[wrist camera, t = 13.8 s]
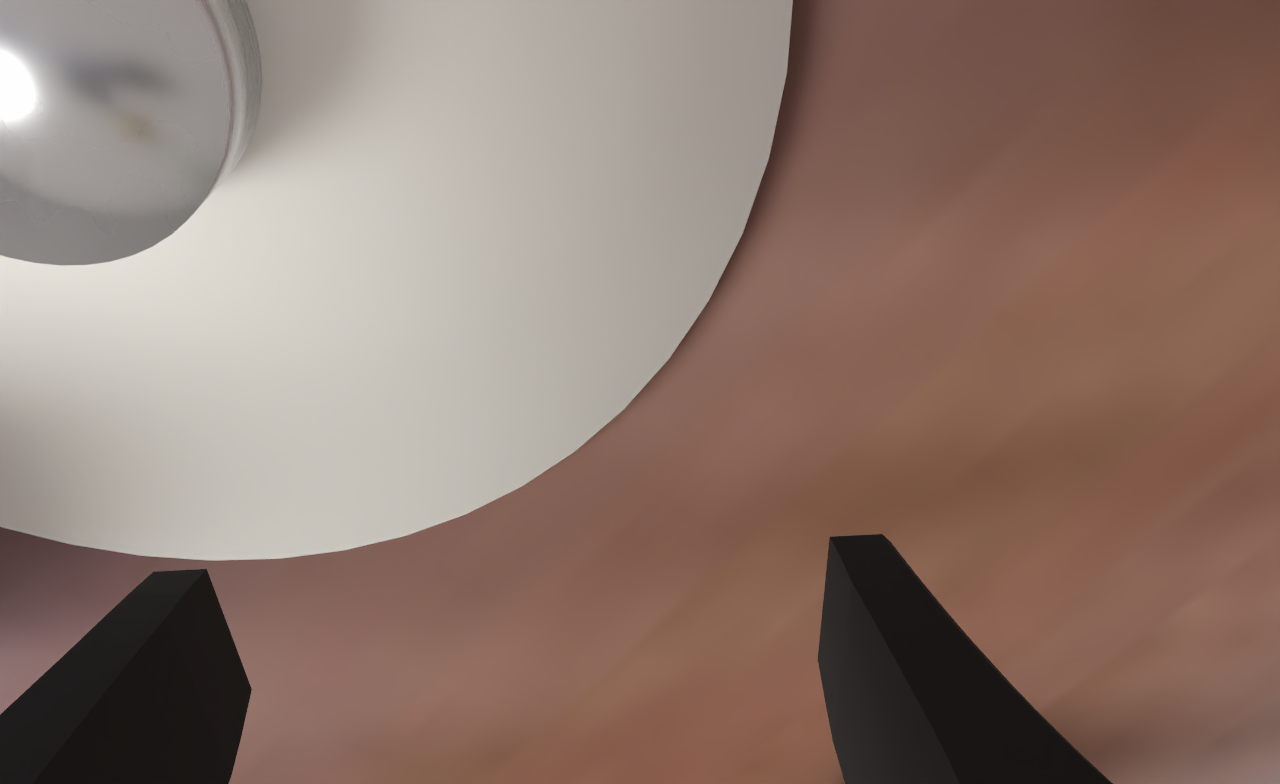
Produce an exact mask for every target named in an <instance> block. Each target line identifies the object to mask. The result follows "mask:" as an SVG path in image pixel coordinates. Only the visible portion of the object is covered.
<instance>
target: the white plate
mask: <svg viewBox="0 0 1280 784" xmlns="http://www.w3.org/2000/svg"><path fill="white" fill-rule="evenodd" d="M246 2H247V4H248V7H249V10H250V13H251V16H252V19H253V22H254V25H255V28H256V33H257V38H258V43H259V48H260V53H261V64H262V77H263V80H262V97H261V105H260V110H259V115H258V120H257V124H256V127H255V130H254V132H253V135H252V138H251V140H250V143H249V145H248V147H247V149H246V150H245V152H244V154H243V156H242V157H241V159H240V161H239V163H238V164H237V165H236V166H235V167H234V169H233V170H232V171H231V172H230V174H229V175H228V176H227V177H226V179H225V180H224V181H223V182H222V183H221V184H220V185H219V186H218V187H217V188H216V190H215V191H214V192H213V193H212V194H211V195H210V196H209V197H208V198H207V199H206V200H205V202H204V203H203V204H202V205H201V206H200V207H199V208H198V209H197V210H196V211H195V213H194V214H193V215H192V216H191V217H190V218H189V219H188V220H187V221H186V222H185V223H184V224H183V225H182V226H180V227H179V228H178V229H177V230H176V231H175V232H174V233H173V234H172V235H170V236H168V237H167V238H165V239H164V240H162V241H161V242H159V243H157V244H156V245H154V246H153V247H151V248H148V249H146V250H144V251H141V252H139V253H137V254H135V255H132V256H129V257H125V258H122V259H118V260H114V261H111V262H105V263H97V264H90V265H51V264H41V263H33V262H28V261H23V260H18V259H13V258H8V257H5V256H2V255H0V527H3V528H7V529H11V530H15V531H19V532H23V533H27V534H31V535H35V536H39V537H43V538H47V539H51V540H55V541H59V542H63V543H67V544H71V545H77V546H84V547H90V548H96V549H102V550H109V551H115V552H121V553H128V554H134V555H140V556H152V557H167V558H182V559H196V560H211V561H212V560H250V559H280V558H288V557H296V556H304V555H312V554H320V553H328V552H336V551H343V550H348V549H352V548H356V547H360V546H365V545H369V544H373V543H377V542H382V541H386V540H390V539H394V538H398V537H403V536H406V535H409V534H412V533H415V532H418V531H420V530H423V529H426V528H429V527H432V526H434V525H437V524H440V523H443V522H446V521H448V520H451V519H454V518H457V517H460V516H462V515H465V514H467V513H469V512H471V511H473V510H475V509H477V508H479V507H481V506H483V505H485V504H487V503H489V502H491V501H493V500H495V499H497V498H499V497H502V496H504V495H506V494H508V493H510V492H512V491H514V490H516V489H518V488H520V487H522V486H523V485H525V484H526V483H528V482H529V481H531V480H532V479H534V478H535V477H537V476H538V475H540V474H541V473H543V472H544V471H546V470H547V469H549V468H551V467H552V466H554V465H555V464H557V463H558V462H560V461H561V460H563V459H564V458H566V457H567V456H569V455H570V454H572V453H573V452H575V451H576V450H577V449H578V448H579V447H581V446H582V445H583V444H584V443H585V442H586V441H588V440H589V439H590V438H591V437H592V436H593V435H595V434H596V433H597V432H598V431H599V430H600V429H602V428H603V427H604V426H605V425H606V424H607V423H609V422H610V421H611V420H612V419H613V418H614V417H616V416H617V415H618V414H619V413H620V412H621V411H623V410H624V409H625V408H626V406H627V405H628V404H629V403H630V402H631V401H632V400H633V399H634V398H635V396H636V395H637V394H638V393H639V392H640V391H641V390H642V389H643V388H644V386H645V385H646V384H647V383H648V382H649V381H650V380H651V379H652V377H653V376H654V375H655V374H656V373H657V372H658V371H659V370H660V369H661V367H662V366H663V365H664V364H665V363H666V362H667V361H668V360H669V358H670V357H671V355H672V354H673V353H674V351H675V350H676V348H677V347H678V345H679V344H680V342H681V341H682V339H683V338H684V336H685V335H686V333H687V332H688V331H689V329H690V328H691V326H692V325H693V323H694V322H695V320H696V319H697V317H698V316H699V314H700V313H701V312H702V310H703V309H704V307H705V306H706V304H707V303H708V301H709V299H710V297H711V296H712V294H713V292H714V290H715V288H716V286H717V284H718V282H719V280H720V278H721V276H722V274H723V272H724V270H725V268H726V266H727V264H728V262H729V260H730V258H731V256H732V254H733V252H734V250H735V248H736V246H737V244H738V242H739V240H740V238H741V236H742V234H743V231H744V228H745V225H746V223H747V220H748V217H749V214H750V211H751V208H752V205H753V203H754V200H755V197H756V194H757V191H758V188H759V185H760V182H761V180H762V177H763V174H764V171H765V168H766V165H767V162H768V160H769V156H770V151H771V146H772V142H773V137H774V132H775V127H776V122H777V118H778V113H779V108H780V103H781V99H782V94H783V89H784V84H785V80H786V75H787V66H788V54H789V42H790V30H791V18H792V5H793V0H246Z"/></svg>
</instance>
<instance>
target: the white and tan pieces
mask: <svg viewBox="0 0 1280 784" xmlns="http://www.w3.org/2000/svg"><path fill="white" fill-rule="evenodd" d="M262 80H263V77H262V64H261V53H260V48H259V43H258V38H257V33H256V28H255V25H254V22H253V19H252V16H251V13H250V10H249V7H248V4H247V2H246V0H0V255H2V256H5V257H8V258H13V259H18V260H23V261H28V262H33V263H41V264H51V265H90V264H97V263H105V262H111V261H114V260H118V259H122V258H125V257H129V256H132V255H135V254H137V253H139V252H141V251H144V250H146V249H148V248H151V247H153V246H154V245H156V244H157V243H159V242H161V241H162V240H164V239H165V238H167V237H168V236H170V235H172V234H173V233H174V232H175V231H176V230H177V229H178V228H179V227H180V226H182V225H183V224H184V223H185V222H186V221H187V220H188V219H189V218H190V217H191V216H192V215H193V214H194V213H195V211H196V210H197V209H198V208H199V207H200V206H201V205H202V204H203V203H204V202H205V200H206V199H207V198H208V197H209V196H210V195H211V194H212V193H213V192H214V191H215V190H216V188H217V187H218V186H219V185H220V184H221V183H222V182H223V181H224V180H225V179H226V177H227V176H228V175H229V174H230V172H231V171H232V170H233V169H234V167H235V166H236V165H237V164H238V163H239V161H240V159H241V157H242V156H243V154H244V152H245V150H246V149H247V147H248V145H249V143H250V140H251V138H252V135H253V132H254V130H255V127H256V124H257V120H258V115H259V110H260V105H261V97H262Z"/></svg>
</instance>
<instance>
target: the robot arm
mask: <svg viewBox="0 0 1280 784" xmlns="http://www.w3.org/2000/svg"><path fill="white" fill-rule="evenodd" d="M818 663H819V668H820V674H821V680H822V685H823V691H824V697H825V702H826V708H827V713H828V718H829V723H830V728H831V733H832V739H833V743H834V746H835V750H836V753H837V757H838V760H839V763H840V767H841V770H842V773H843V777H844V780H845V783H846V784H1113V783H1111V782H1110V781H1109V780H1108V779H1107V778H1106V777H1105V776H1104V775H1103V774H1102V773H1100V772H1099V771H1098V770H1097V769H1096V768H1095V767H1094V766H1093V765H1092V764H1091V763H1090V762H1089V761H1088V760H1086V759H1085V758H1084V757H1083V756H1082V755H1081V754H1080V753H1079V752H1078V751H1077V750H1076V749H1075V748H1074V747H1073V746H1072V745H1071V744H1070V743H1069V742H1068V741H1067V740H1066V739H1065V738H1064V737H1063V736H1062V735H1061V734H1060V733H1059V732H1058V731H1057V730H1056V729H1055V728H1054V727H1053V726H1052V725H1051V724H1050V723H1049V722H1048V721H1047V720H1046V719H1045V718H1044V717H1042V716H1041V715H1040V714H1039V713H1038V712H1037V711H1036V710H1035V709H1034V708H1033V706H1032V705H1031V704H1030V703H1029V702H1028V701H1027V700H1026V699H1025V698H1024V697H1023V696H1022V695H1021V694H1020V693H1019V692H1018V691H1017V690H1016V689H1015V688H1014V687H1013V686H1012V685H1011V683H1010V682H1009V681H1008V680H1007V679H1006V678H1005V677H1004V676H1003V675H1002V674H1001V672H1000V671H999V670H998V669H997V668H996V667H995V666H994V665H993V664H992V663H991V661H990V660H989V659H988V658H987V657H986V656H985V655H984V654H983V653H982V652H981V650H980V649H979V648H978V647H977V646H976V645H975V644H974V643H973V642H972V641H971V639H970V638H969V637H968V636H967V635H966V634H965V633H964V631H963V630H962V629H961V628H960V627H959V626H958V624H957V623H956V622H955V621H954V620H953V619H952V617H951V616H950V615H949V614H948V613H947V611H946V610H945V609H944V608H943V607H942V605H941V604H940V603H939V602H938V601H937V600H936V598H935V597H934V596H933V595H932V594H931V592H930V591H929V590H928V589H927V587H926V586H925V585H924V584H923V582H922V581H921V580H920V579H919V577H918V576H917V575H916V574H915V572H914V571H913V570H912V569H911V567H910V566H909V565H908V564H907V562H906V561H905V560H904V559H903V557H902V556H901V555H900V554H899V552H898V551H897V550H896V548H895V547H894V546H893V545H892V543H891V542H890V541H889V540H888V539H887V538H886V537H885V536H884V535H882V534H877V535H858V536H838V537H830V540H829V550H828V560H827V571H826V581H825V591H824V601H823V611H822V622H821V632H820V642H819V652H818ZM251 690H252V689H251V686H250V684H249V681H248V678H247V676H246V673H245V670H244V668H243V665H242V662H241V660H240V657H239V654H238V652H237V649H236V646H235V644H234V641H233V638H232V636H231V633H230V630H229V628H228V625H227V622H226V620H225V617H224V614H223V612H222V609H221V606H220V604H219V601H218V598H217V596H216V593H215V590H214V588H213V585H212V582H211V580H210V577H209V574H208V572H207V569H200V570H181V571H162V572H153V573H152V574H151V575H150V576H148V577H147V578H146V579H145V580H144V581H143V582H142V583H140V584H139V585H138V586H137V587H136V588H135V589H134V590H133V591H132V592H131V593H129V594H128V595H127V596H126V597H125V598H124V599H123V600H122V601H121V602H120V603H119V604H118V605H117V606H116V607H115V608H113V609H112V610H111V611H110V612H109V613H108V614H107V615H106V616H105V617H104V618H103V619H102V620H101V621H100V622H99V623H98V624H97V625H96V626H95V627H93V628H92V629H91V630H90V631H89V632H88V633H87V634H86V635H85V636H84V637H83V638H82V639H81V640H80V641H79V642H78V643H77V644H76V645H75V646H74V647H72V648H71V649H70V650H69V651H68V652H67V653H66V654H65V655H64V656H63V657H62V658H61V659H60V660H59V661H58V662H57V663H55V664H54V665H53V666H52V667H51V668H50V669H49V670H48V671H47V672H46V673H45V674H44V675H43V676H41V677H40V678H39V679H38V680H37V681H36V682H35V683H34V684H33V685H32V686H31V687H30V688H29V689H28V690H26V691H25V692H24V693H23V694H22V695H21V696H20V697H19V698H18V699H17V700H16V701H15V702H14V703H12V704H11V705H10V706H9V707H8V708H7V709H6V710H5V711H4V712H3V713H2V714H1V715H0V784H228V783H229V780H230V777H231V775H232V771H233V767H234V763H235V759H236V755H237V751H238V747H239V743H240V739H241V735H242V730H243V726H244V721H245V717H246V712H247V708H248V703H249V699H250V694H251Z"/></svg>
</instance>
